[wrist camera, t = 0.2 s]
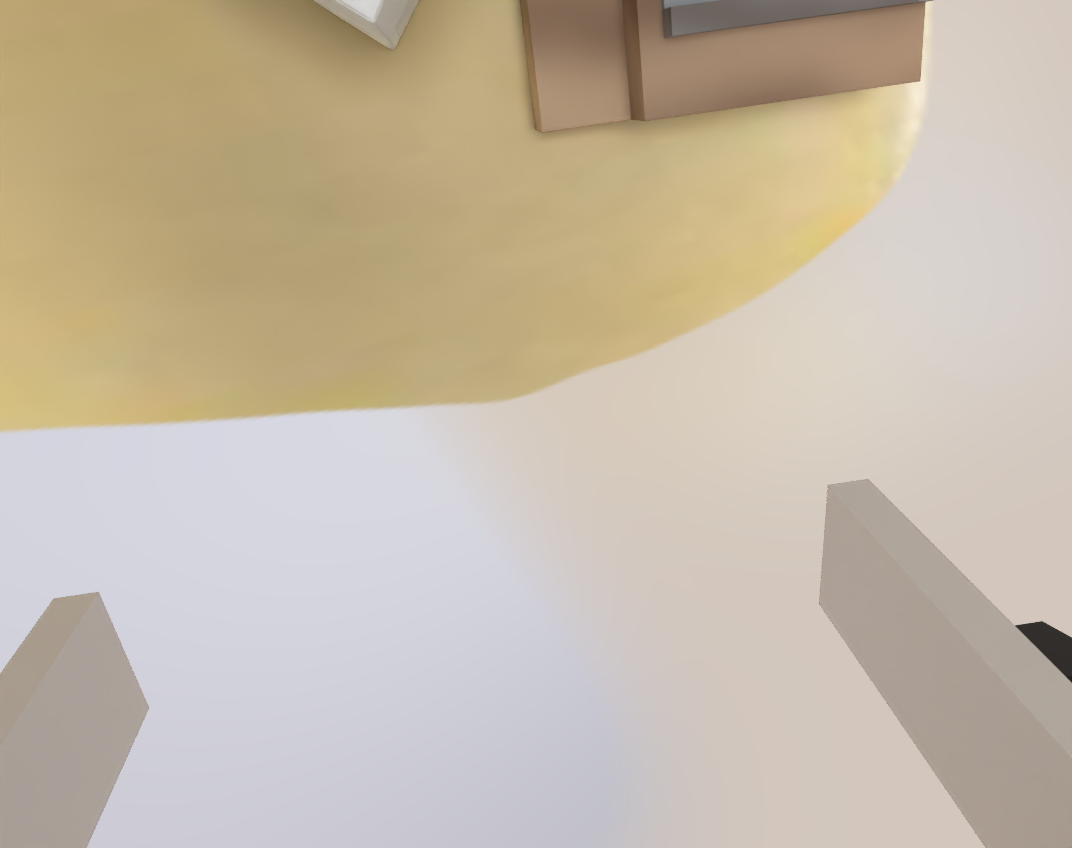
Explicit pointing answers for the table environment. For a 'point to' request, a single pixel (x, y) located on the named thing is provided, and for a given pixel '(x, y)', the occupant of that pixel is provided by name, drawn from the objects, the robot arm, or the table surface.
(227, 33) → the table surface
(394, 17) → the small box
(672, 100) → the dock
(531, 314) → the table surface
